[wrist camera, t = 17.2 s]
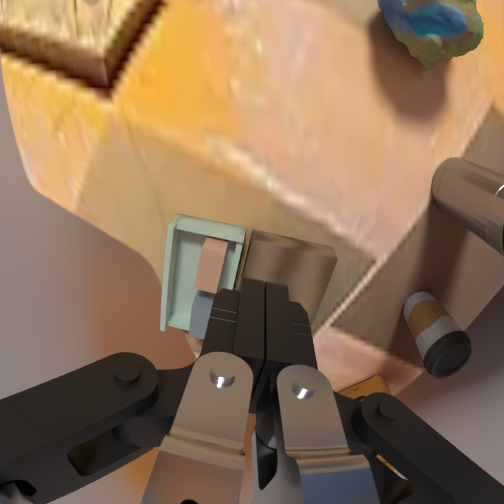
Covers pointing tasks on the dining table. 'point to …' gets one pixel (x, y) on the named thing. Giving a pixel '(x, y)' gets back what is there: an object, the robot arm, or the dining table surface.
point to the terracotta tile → (211, 264)
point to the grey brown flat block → (291, 267)
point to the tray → (193, 264)
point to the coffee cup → (436, 335)
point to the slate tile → (200, 313)
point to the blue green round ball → (434, 27)
